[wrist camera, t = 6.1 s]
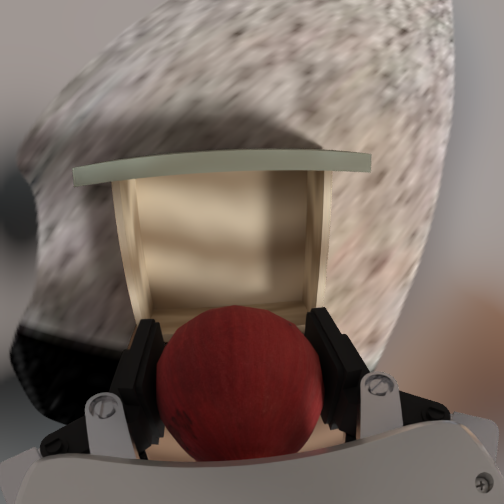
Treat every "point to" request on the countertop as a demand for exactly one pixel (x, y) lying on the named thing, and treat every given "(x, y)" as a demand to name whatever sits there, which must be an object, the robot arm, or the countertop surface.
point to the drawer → (223, 229)
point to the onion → (239, 385)
